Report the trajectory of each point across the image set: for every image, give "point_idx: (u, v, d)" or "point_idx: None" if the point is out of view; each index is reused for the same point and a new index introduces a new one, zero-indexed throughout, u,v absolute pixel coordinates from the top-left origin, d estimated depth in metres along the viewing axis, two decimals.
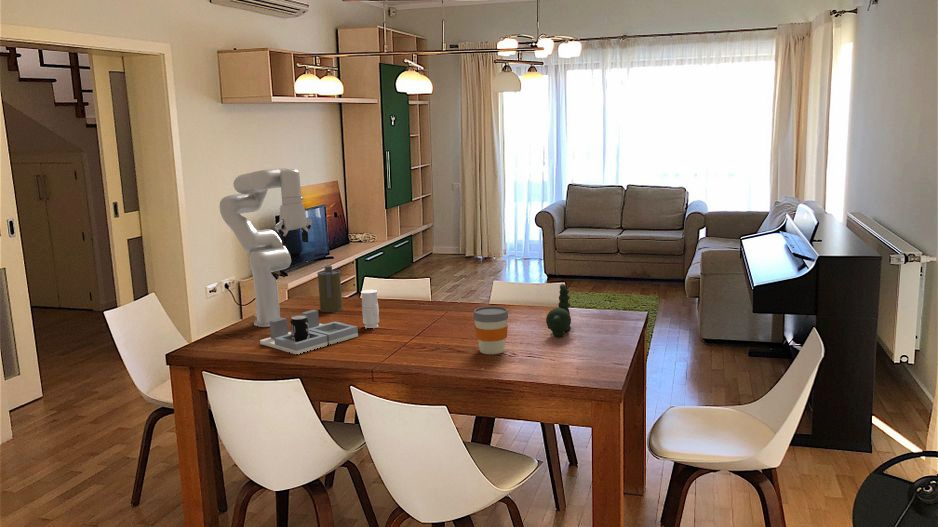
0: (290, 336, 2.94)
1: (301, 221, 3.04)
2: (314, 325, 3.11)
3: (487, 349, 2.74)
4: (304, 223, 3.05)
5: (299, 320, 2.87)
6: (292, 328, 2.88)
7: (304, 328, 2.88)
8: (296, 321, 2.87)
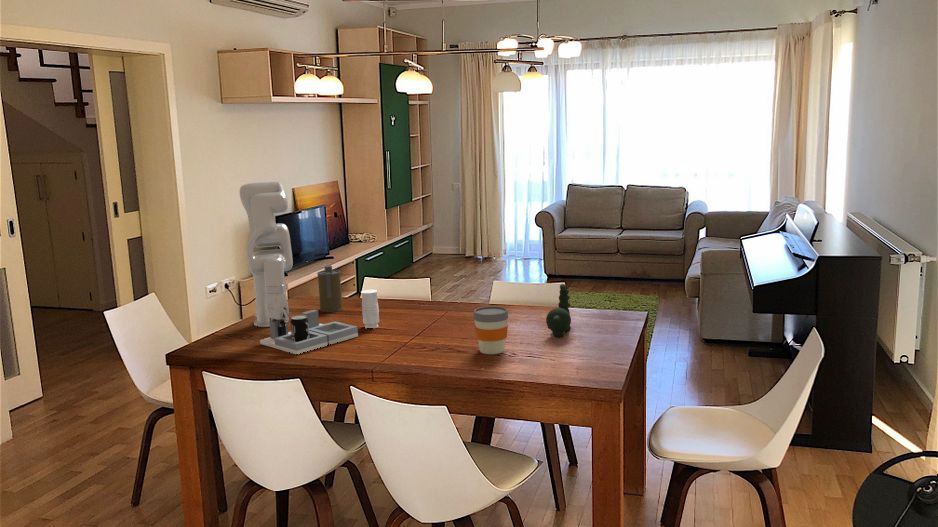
0: (290, 336, 2.94)
1: None
2: (314, 325, 3.11)
3: (487, 349, 2.74)
4: None
5: (299, 320, 2.87)
6: (292, 328, 2.88)
7: (304, 328, 2.88)
8: (296, 321, 2.87)
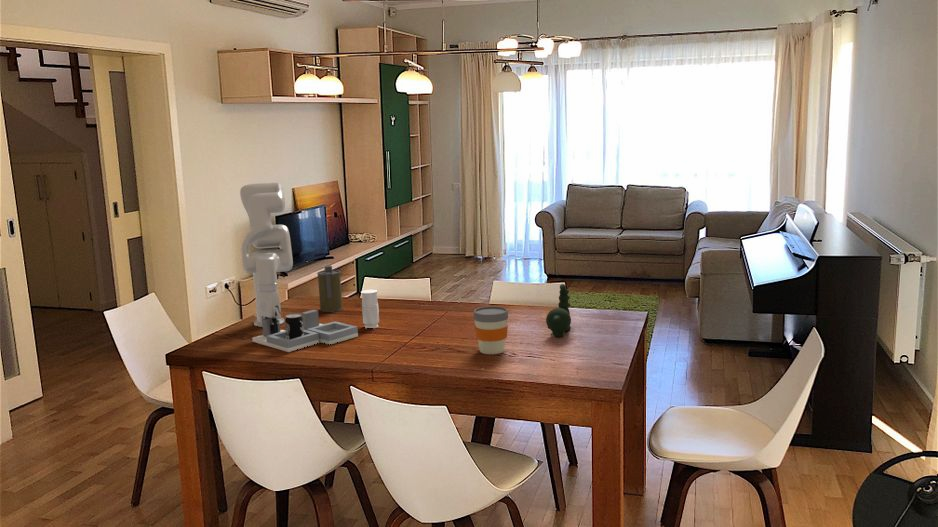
0: (282, 334, 2.97)
1: None
2: (314, 325, 3.11)
3: (487, 349, 2.74)
4: None
5: (293, 318, 2.89)
6: (286, 326, 2.91)
7: (299, 327, 2.91)
8: (290, 319, 2.89)
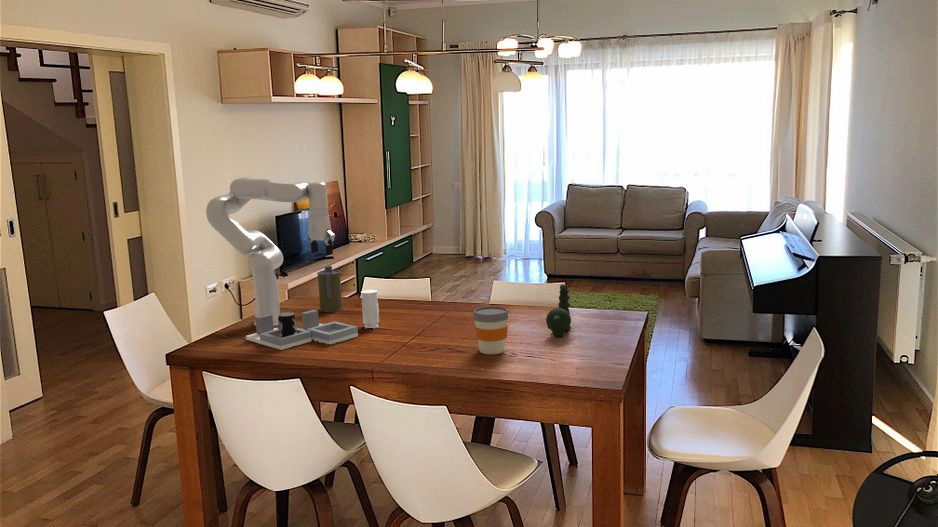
0: (275, 332, 3.00)
1: None
2: (314, 325, 3.11)
3: (487, 349, 2.74)
4: None
5: (286, 317, 2.93)
6: (279, 325, 2.94)
7: (292, 325, 2.94)
8: (283, 317, 2.92)
